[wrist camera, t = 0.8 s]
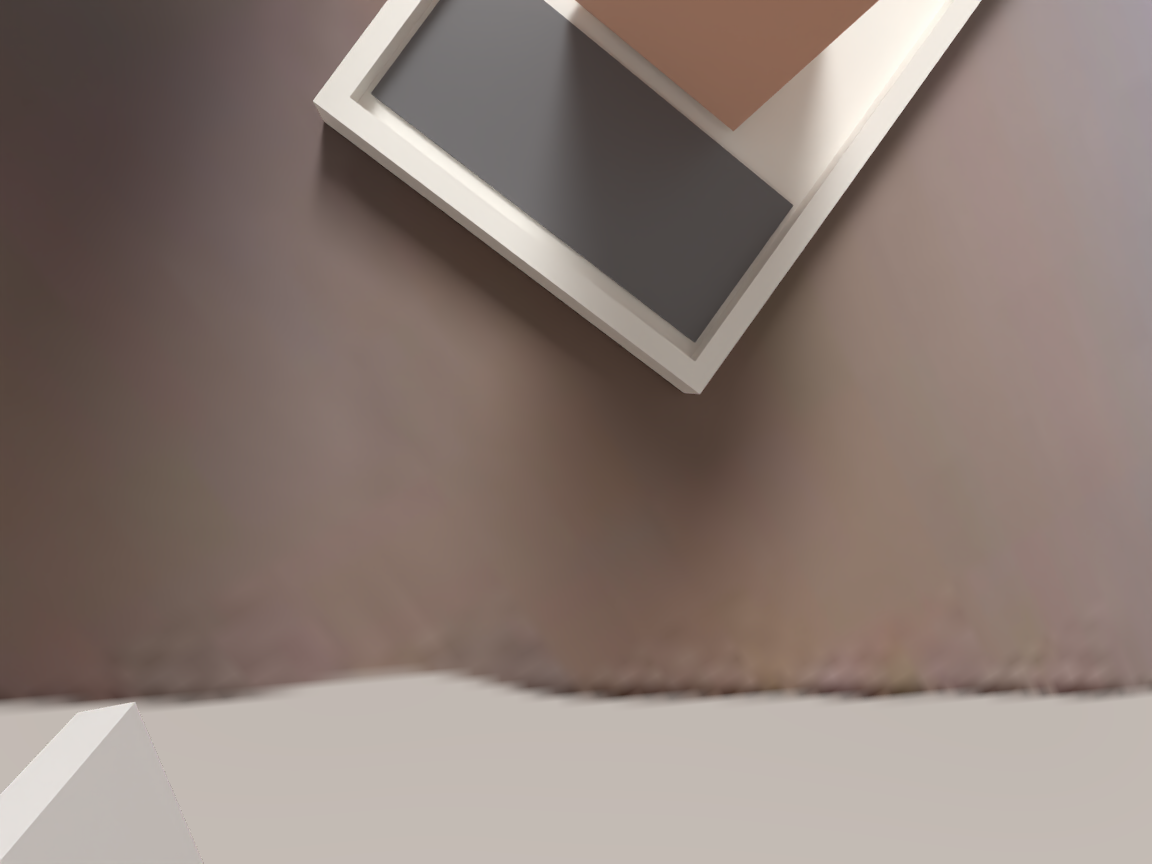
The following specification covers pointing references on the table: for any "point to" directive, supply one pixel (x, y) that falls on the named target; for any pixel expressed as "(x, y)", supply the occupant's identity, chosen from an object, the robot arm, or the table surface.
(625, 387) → the table surface
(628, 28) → the block
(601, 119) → the sorting tray
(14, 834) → the robot arm
